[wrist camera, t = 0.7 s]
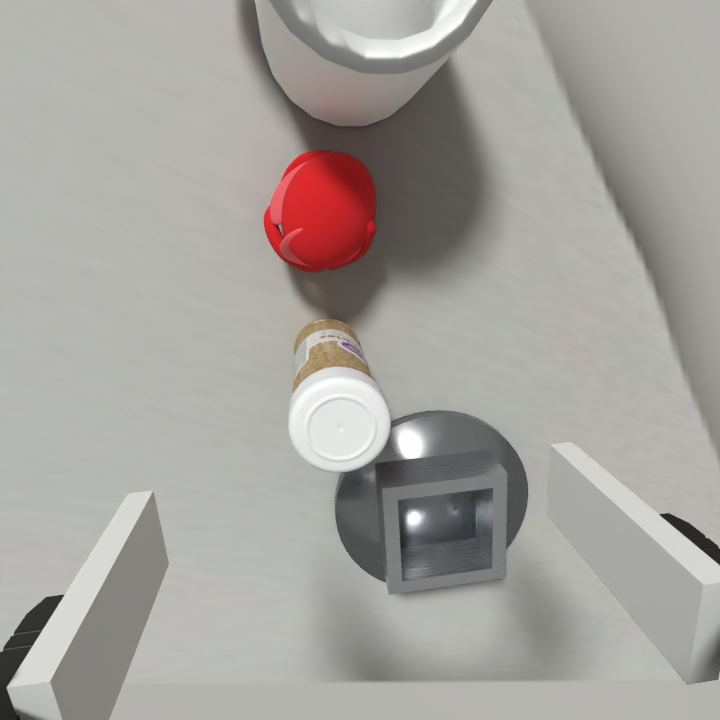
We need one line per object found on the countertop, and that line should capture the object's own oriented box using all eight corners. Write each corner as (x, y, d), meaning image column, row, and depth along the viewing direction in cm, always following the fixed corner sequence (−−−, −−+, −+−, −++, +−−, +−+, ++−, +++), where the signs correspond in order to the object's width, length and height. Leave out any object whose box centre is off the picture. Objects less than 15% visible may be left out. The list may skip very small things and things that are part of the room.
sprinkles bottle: (368, 330, 34) (409, 399, 21) (344, 388, 35) (369, 489, 22) (306, 306, 33) (310, 364, 20) (283, 367, 34) (272, 458, 21)
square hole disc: (342, 591, 40) (348, 637, 35) (326, 422, 35) (329, 450, 31) (520, 566, 41) (545, 607, 37) (525, 400, 37) (554, 424, 32)
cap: (323, 310, 30) (399, 262, 26) (243, 253, 26) (319, 189, 23) (333, 227, 35) (399, 178, 31) (267, 170, 31) (333, 106, 28)
